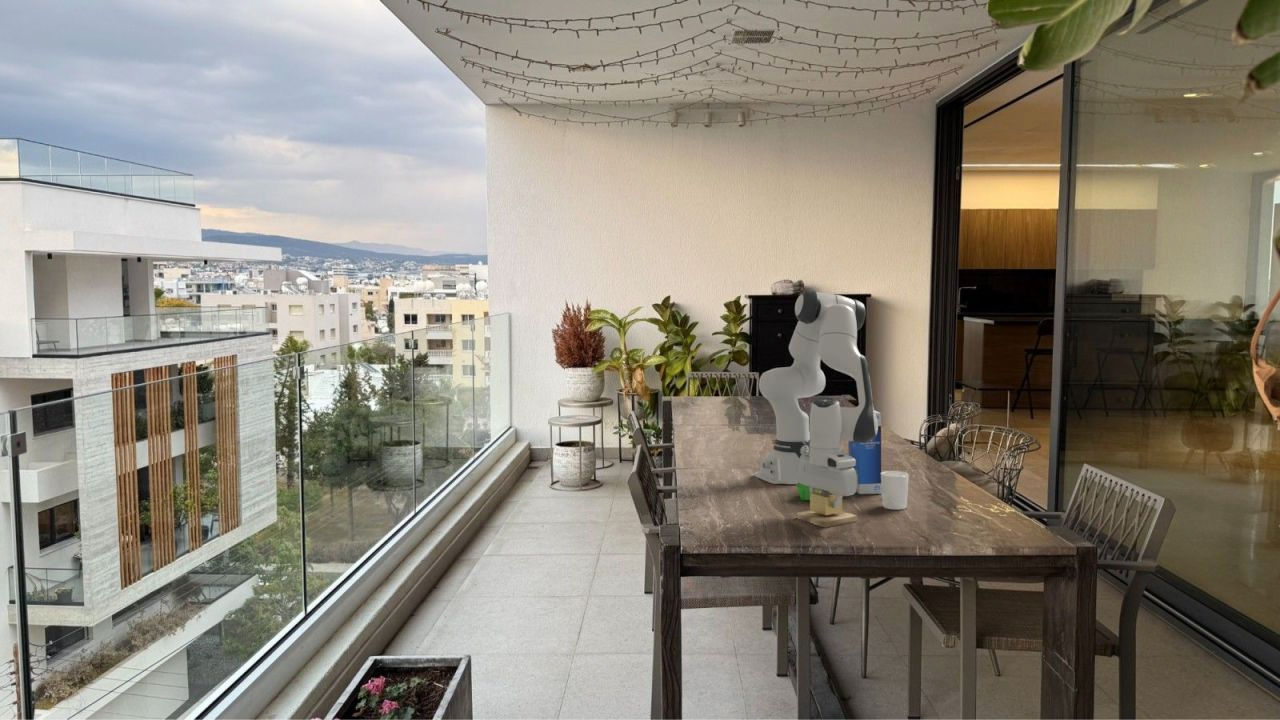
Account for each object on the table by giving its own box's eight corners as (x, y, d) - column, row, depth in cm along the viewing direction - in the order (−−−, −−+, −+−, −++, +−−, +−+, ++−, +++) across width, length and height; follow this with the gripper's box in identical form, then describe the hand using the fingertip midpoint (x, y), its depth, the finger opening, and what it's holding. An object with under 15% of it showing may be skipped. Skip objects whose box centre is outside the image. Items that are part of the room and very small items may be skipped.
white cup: (890, 511, 242) (890, 477, 241) (875, 505, 249) (875, 472, 249) (914, 509, 244) (914, 475, 243) (898, 502, 251) (898, 470, 251)
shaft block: (795, 518, 236) (795, 488, 236) (827, 512, 242) (827, 483, 242) (825, 527, 226) (824, 496, 226) (857, 520, 232) (857, 490, 232)
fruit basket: (807, 492, 267) (807, 457, 266) (835, 495, 263) (834, 460, 262) (795, 500, 257) (794, 464, 257) (823, 503, 253) (822, 466, 252)
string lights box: (882, 494, 263) (882, 412, 261) (858, 494, 262) (857, 413, 261) (870, 485, 276) (870, 407, 274) (847, 485, 276) (846, 408, 274)
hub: (810, 510, 235) (810, 493, 235) (826, 507, 238) (826, 490, 238) (825, 515, 230) (825, 497, 230) (842, 511, 233) (842, 494, 233)
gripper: (792, 452, 240) (792, 499, 241) (843, 463, 223) (843, 514, 224) (809, 449, 244) (809, 496, 245) (860, 460, 226) (860, 511, 227)
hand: (826, 505), depth 234 cm, fingers closed on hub, 6 cm apart
